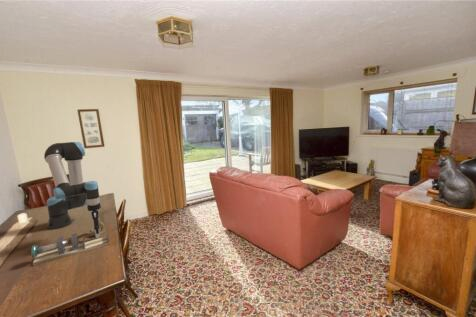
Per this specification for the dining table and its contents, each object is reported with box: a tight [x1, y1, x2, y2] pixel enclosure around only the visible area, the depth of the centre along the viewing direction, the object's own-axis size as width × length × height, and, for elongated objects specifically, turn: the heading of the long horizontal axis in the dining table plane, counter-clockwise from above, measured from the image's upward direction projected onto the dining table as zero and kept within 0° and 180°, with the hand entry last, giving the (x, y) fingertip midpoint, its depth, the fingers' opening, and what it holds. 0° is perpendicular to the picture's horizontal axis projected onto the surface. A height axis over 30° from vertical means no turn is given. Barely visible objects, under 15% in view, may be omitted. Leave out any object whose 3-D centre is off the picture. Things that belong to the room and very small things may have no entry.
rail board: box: [32, 235, 110, 266], centre depth 134 cm, size 10×36×2 cm, turn 124°
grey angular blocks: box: [56, 231, 110, 255], centre depth 136 cm, size 10×25×9 cm, turn 124°
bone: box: [89, 221, 105, 236], centre depth 153 cm, size 9×6×10 cm
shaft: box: [30, 239, 69, 259], centre depth 127 cm, size 16×6×6 cm, turn 124°
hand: (97, 234), depth 153 cm, fingers open, 9 cm apart
